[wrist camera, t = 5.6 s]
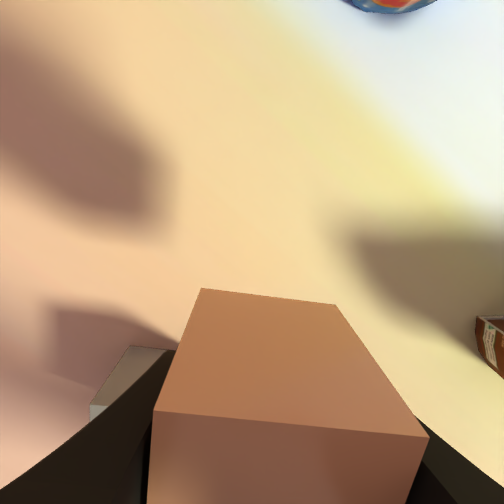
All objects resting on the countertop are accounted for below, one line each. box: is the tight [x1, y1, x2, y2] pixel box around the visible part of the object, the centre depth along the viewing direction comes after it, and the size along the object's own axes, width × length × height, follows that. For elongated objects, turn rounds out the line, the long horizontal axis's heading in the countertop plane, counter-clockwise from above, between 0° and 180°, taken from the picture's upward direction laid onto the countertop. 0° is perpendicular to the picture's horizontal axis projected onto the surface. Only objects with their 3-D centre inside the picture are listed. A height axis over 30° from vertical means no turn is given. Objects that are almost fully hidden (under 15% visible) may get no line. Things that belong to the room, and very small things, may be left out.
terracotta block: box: [147, 288, 430, 504], centre depth 8 cm, size 4×4×5 cm
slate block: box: [90, 346, 167, 422], centre depth 17 cm, size 4×4×5 cm
